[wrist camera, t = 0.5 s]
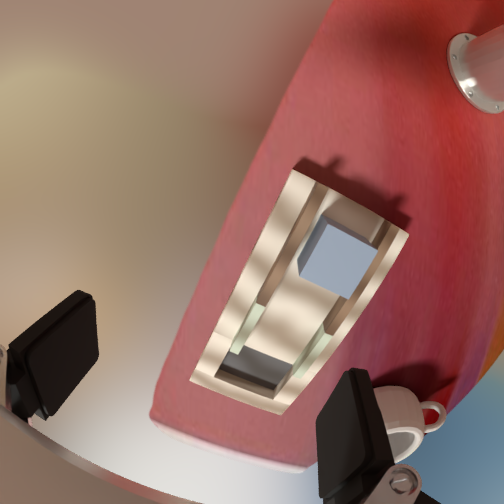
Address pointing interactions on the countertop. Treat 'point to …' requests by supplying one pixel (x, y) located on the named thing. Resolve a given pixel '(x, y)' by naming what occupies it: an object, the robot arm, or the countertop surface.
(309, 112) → the countertop surface
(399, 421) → the mug
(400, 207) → the countertop surface
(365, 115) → the countertop surface
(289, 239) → the tunnel board
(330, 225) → the slate block
